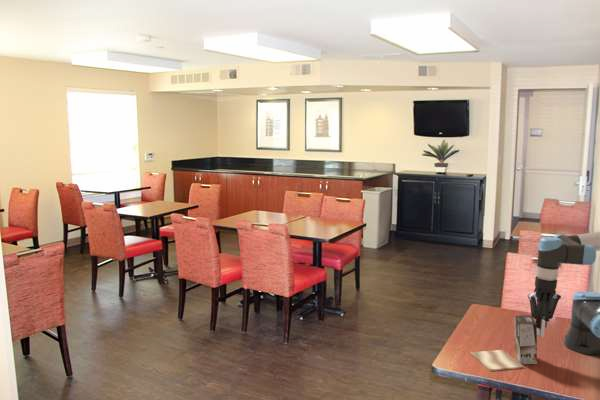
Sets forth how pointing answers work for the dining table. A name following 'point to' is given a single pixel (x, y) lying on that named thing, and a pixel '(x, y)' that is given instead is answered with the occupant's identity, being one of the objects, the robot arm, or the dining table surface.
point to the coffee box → (525, 339)
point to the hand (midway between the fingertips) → (539, 335)
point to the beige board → (496, 360)
